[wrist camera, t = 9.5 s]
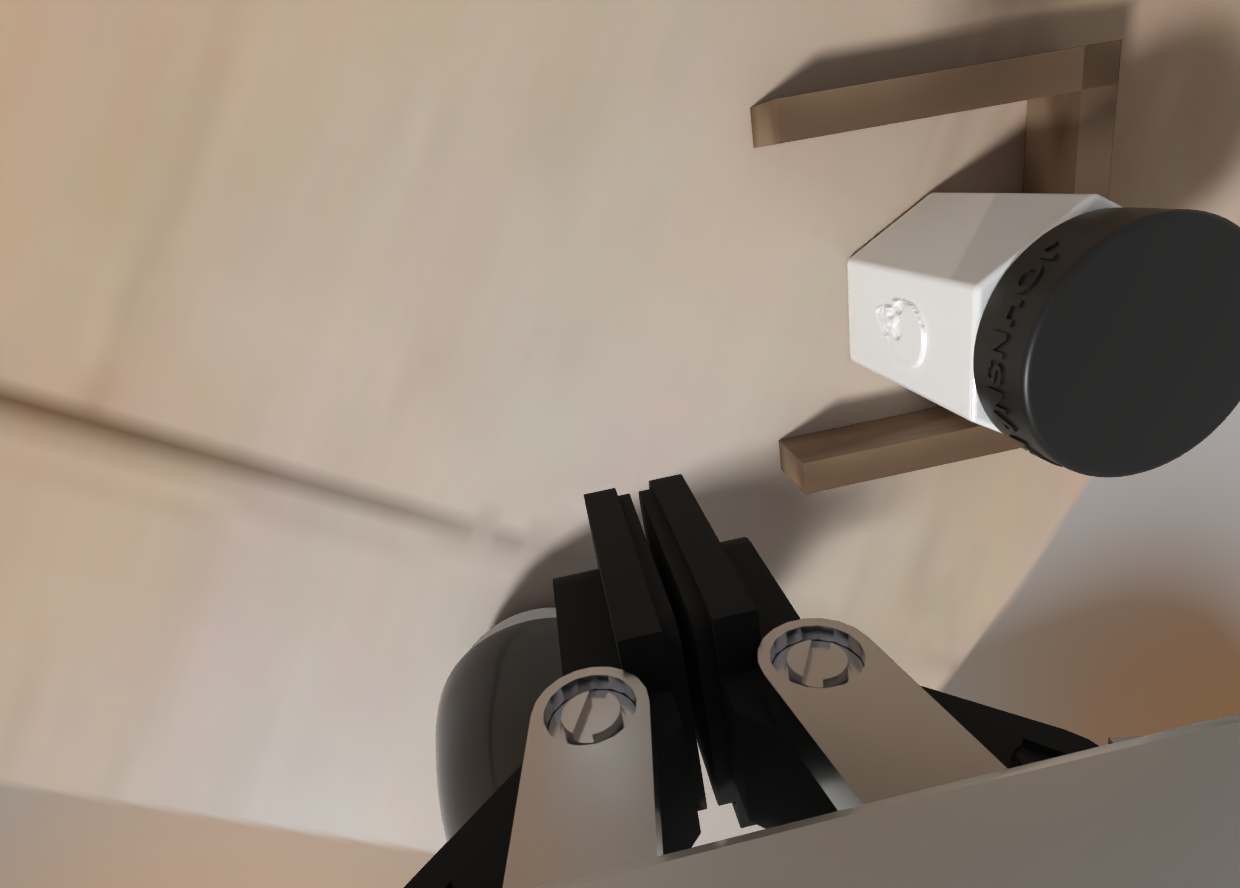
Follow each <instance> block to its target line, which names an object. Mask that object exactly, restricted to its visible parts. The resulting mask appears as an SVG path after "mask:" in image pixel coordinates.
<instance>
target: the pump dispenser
mask: <svg viewBox="0 0 1240 888" xmlns="http://www.w3.org/2000/svg"><path fill="white" fill-rule="evenodd" d="M561 677H563V676H562V666H561V656H560V646H559V636H558V627H557V617H556V608H539V609H533V610H529V611H525V612H522V613H519V614H516V615H514V616H512V617H509V618H507V619H505V620H504V621H502V622H500V623H499V624H497V625H496V626H494V627H493V628H491V629H490V630H489V631H487V632H486V633H485V634H484V635H483V636H482V637H481V638H480V639H479V640H478V641H477V642H476V643H475V644H474V645H473V646H472V648H471V649H470V650H469V651H468V652H467V653H466V654H465V655H464V657H463V658H462V659H461V660H460V661H459V662H458V664H457V665H456V666H455V668H454V669H453V670H452V672H451V674H450V675H449V677H448V679H447V681H446V683H445V686H444V688H443V691H442V694H441V698H440V702H439V707H438V713H437V722H436V771H437V785H438V795H439V803H440V810H441V816H442V821H443V826H444V831H445V835H446V840H447V842H448V841H449V840H450V839H451V838H452V837H453V835H454V834H455V833H456V832H457V831H458V830H459V829H460V828H461V827H462V826H463V825H464V824H465V823H466V822H467V821H468V820H469V819H470V818H471V817H472V816H473V815H474V814H475V813H476V811H477V810H478V809H479V808H480V807H481V806H482V805H483V804H484V803H485V802H486V801H487V800H488V799H489V798H490V797H491V796H492V795H493V794H494V793H495V792H496V791H497V790H498V788H499V787H500V786H501V785H502V784H503V783H504V782H505V781H506V780H507V779H508V778H509V777H510V776H511V775H512V774H513V773H514V772H515V771H516V770H517V769H518V768H519V767H520V765H521V764H522V763H523V760H524V754H525V748H526V741H527V735H528V729H529V723H530V717H531V713H532V711H533V708H534V705H535V702H536V701H537V699H538V698H539V697H540V695H541V694H542V693H543V692H544V690H545V689H546V688H547V687H549V686H550V685H551V684H553V683H554V682H555V681H556V680H558V679H559V678H561Z"/></svg>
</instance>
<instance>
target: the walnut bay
mask: <svg viewBox="0 0 1240 888" xmlns="http://www.w3.org/2000/svg"><path fill="white" fill-rule="evenodd" d="M1121 43H1122V40H1116V41H1110V42H1104V43H1099V44H1093V45H1087V46H1081V47H1075V48H1069V49H1064V50H1058V51H1052V52H1046V53H1040V54H1034V55H1028V56H1023V57H1017V58H1011V59H1005V60H999V61H993V62H988V63H982V64H976V65H970V66H964V67H958V68H953V69H947V70H941V71H935V72H929V73H923V74H918V75H912V76H906V77H900V78H894V79H888V80H883V81H877V82H871V83H865V84H859V85H853V86H847V87H842V88H836V89H830V90H824V91H818V92H812V93H807V94H801V95H795V96H789V97H783V98H777V99H774V100H771V101H768V102H765V103H762V104H760V105H757V106H754V107H751V108H750V110H751V122H752V134H753V145H754V148H756V147H761V146H767V145H773V144H779V143H784V142H790V141H796V140H801V139H807V138H813V137H818V136H824V135H830V134H835V133H841V132H847V131H852V130H858V129H864V128H869V127H875V126H881V125H886V124H892V123H898V122H904V121H909V120H915V119H921V118H926V117H932V116H938V115H943V114H949V113H955V112H960V111H966V110H972V109H977V108H983V107H989V106H994V105H1000V104H1006V103H1011V102H1017V101H1023V100H1028V104H1027V126H1026V148H1025V170H1024V192H1023V193H1062V194H1098V195H1101V196H1102V197H1104V198H1106V199H1108V191H1109V180H1110V169H1111V157H1112V146H1113V134H1114V123H1115V112H1116V100H1117V89H1118V77H1119V66H1120V55H1121ZM779 447H780V459H781V469H782V470H783V471H784V472H785V473H786V474H787V475H788V476H789V477H790V479H791V480H792V481H793V482H794V483H795V484H796V485H797V486H798V487H799V488H800V489H801V490H802V491H803V492H804V493H805V494H809V493H813V492H818V491H822V490H827V489H832V488H836V487H841V486H846V485H850V484H855V483H860V482H864V481H869V480H873V479H878V478H883V477H887V476H892V475H897V474H901V473H906V472H911V471H915V470H920V469H924V468H929V467H934V466H938V465H943V464H948V463H952V462H957V461H962V460H966V459H971V458H975V457H980V456H985V455H989V454H994V453H999V452H1003V451H1008V450H1013V449H1017V448H1022V446H1021V445H1020V444H1018V443H1016V442H1014V441H1012V440H1011V439H1009V438H1008V437H1006V436H1005V435H1004V434H1002V433H1000V432H997V431H994V430H992V429H989V428H987V427H984V426H981V425H979V424H976V423H974V422H971V421H969V420H967V419H965V418H963V417H961V416H959V415H957V414H955V413H953V412H952V411H950V410H948V409H946V408H944V407H942V406H941V407H936V408H931V409H927V410H922V411H917V412H912V413H908V414H903V415H898V416H893V417H888V418H884V419H879V420H874V421H869V422H864V423H860V424H855V425H850V426H845V427H841V428H836V429H831V430H826V431H821V432H817V433H812V434H807V435H802V436H797V437H793V438H788V439H783V440H779Z"/></svg>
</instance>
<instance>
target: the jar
mask: <svg viewBox="0 0 1240 888" xmlns="http://www.w3.org/2000/svg"><path fill="white" fill-rule="evenodd" d="M847 273H848V307H849V340H850V358H851V360H852V361H854V362H855V363H857V364H859V365H861V366H863V367H865V368H867V369H869V370H871V371H873V372H875V373H877V374H879V375H881V376H883V377H885V378H887V379H889V380H891V381H893V382H895V383H897V384H899V385H901V386H903V387H904V388H906V389H908V390H910V391H912V392H914V393H916V394H918V395H920V396H922V397H924V398H926V399H928V400H930V401H932V402H934V403H936V404H938V405H940V406H942V407H944V408H946V409H948V410H950V411H952V412H953V413H955V414H957V415H959V416H961V417H963V418H965V419H967V420H969V421H971V422H974V423H976V424H979V425H981V426H984V427H987V428H989V429H992V430H994V431H997V432H1000V433H1002V434H1004V435H1005V436H1006V437H1008V438H1009V439H1011V440H1012V441H1014V442H1016V443H1018V444H1020V445H1021V446H1022V448H1023V449H1025V450H1026V451H1027V450H1029V452H1030V453H1032V454H1034V455H1036V456H1038V457H1040V458H1042V459H1044V460H1046V461H1048V462H1050V463H1052V464H1054V465H1057V466H1060V467H1062V466H1063V467H1065V468H1067V469H1069V470H1072V471H1074V472H1077V473H1081V474H1085V475H1089V476H1096V477H1122V476H1128V475H1133V474H1137V473H1141V472H1145V471H1148V470H1151V469H1154V468H1157V467H1159V466H1162V465H1164V464H1166V463H1168V462H1170V461H1172V460H1174V459H1176V458H1178V457H1180V456H1181V455H1183V454H1184V453H1186V452H1188V451H1189V450H1191V449H1192V448H1193V447H1195V446H1196V445H1197V444H1199V443H1200V442H1201V441H1203V440H1204V439H1205V438H1206V437H1207V436H1208V435H1210V434H1211V433H1212V432H1213V431H1214V430H1215V429H1216V428H1217V427H1218V426H1219V425H1220V424H1221V423H1222V422H1223V421H1224V420H1225V419H1226V417H1227V416H1228V415H1229V414H1230V413H1231V412H1232V411H1233V409H1234V408H1235V407H1236V405H1237V404H1238V403H1239V401H1240V227H1239V226H1237V225H1236V224H1235V223H1233V222H1231V221H1229V220H1228V219H1226V218H1223V217H1221V216H1218V215H1216V214H1212V213H1209V212H1205V211H1199V210H1189V209H1159V208H1126V207H1122V206H1120V205H1118V204H1116V203H1114V202H1112V201H1110V200H1108V199H1106V198H1104V197H1102V196H1101V195H1098V194H1062V193H941V192H933V193H930V194H929V195H927V196H926V197H925V198H924V199H922V200H921V201H920V202H919V203H918V204H916V205H915V206H914V207H913V208H911V209H910V210H909V211H908V212H906V213H905V214H904V215H903V216H901V217H900V218H899V219H898V220H896V221H895V222H894V223H893V224H891V225H890V226H889V227H888V228H887V229H885V230H884V231H883V232H882V233H880V234H879V235H878V236H877V237H875V238H874V239H873V240H872V241H870V242H869V243H868V244H867V245H865V246H864V247H863V248H862V249H860V250H859V251H858V252H857V253H856V254H854V255H853V256H852V257H851V258H850V259H849V260H848V262H847Z"/></svg>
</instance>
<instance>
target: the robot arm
mask: <svg viewBox="0 0 1240 888" xmlns="http://www.w3.org/2000/svg"><path fill="white" fill-rule="evenodd" d="M584 499H585V504H586V509H587V514H588V519H589V524H590V529H591V534H592V539H593V544H594V549H595V553H596V558H597V563H598V568H599V569H596V570H591V571H587V572H582V573H578V574H573V575H569V576H564V577H559V578H555V579H553V587H554V597H555V607H556V617H557V627H558V636H559V646H560V656H561V666H562V676H563V677H561V678H559V679H558V680H556V681H555V682H554V683H553V684H551V685H550V686H549V687H547V688H546V689H545V690H544V692H543V693H542V694H541V695H540V697H539V698H538V699H537V701H536V702H535V705H534V708H533V711H532V713H531V717H530V723H529V729H528V735H527V741H526V748H525V754H524V760H523V763H522V764H521V765H520V767H519V768H518V769H517V770H516V771H515V772H514V773H513V774H512V775H511V776H510V777H509V778H508V779H507V780H506V781H505V782H504V783H503V784H502V785H501V786H500V787H499V788H498V790H497V791H496V792H495V793H494V794H493V795H492V796H491V797H490V798H489V799H488V800H487V801H486V802H485V803H484V804H483V805H482V806H481V807H480V808H479V809H478V810H477V811H476V813H475V814H474V815H473V816H472V817H471V818H470V819H469V820H468V821H467V822H466V823H465V824H464V825H463V826H462V827H461V828H460V829H459V830H458V831H457V832H456V833H455V834H454V835H453V837H452V838H451V839H450V840H449V841H448V842H447V843H446V844H445V845H444V846H443V847H442V848H441V849H440V850H439V851H438V852H437V853H436V854H435V855H434V856H433V858H431V860H430V861H429V862H428V863H427V864H426V865H425V866H424V867H423V868H422V869H421V870H420V871H419V872H418V873H417V874H416V875H415V876H414V877H413V878H412V879H411V881H410V882H409V883H408V884H407V885H406V886H405V887H404V888H1240V715H1236V716H1231V717H1226V718H1221V719H1216V720H1212V721H1206V722H1201V723H1197V724H1193V725H1189V726H1185V727H1181V728H1176V729H1172V730H1168V731H1164V732H1160V733H1156V734H1151V735H1147V736H1131V737H1109V741H1108V745H1104V746H1098V745H1097V744H1095V743H1094V742H1092V741H1090V740H1089V739H1086V738H1084V737H1082V736H1079V735H1076V734H1074V733H1072V732H1069V731H1066V730H1064V729H1061V728H1057V727H1054V726H1051V725H1048V724H1044V723H1041V722H1038V721H1035V720H1031V719H1028V718H1024V717H1021V716H1018V715H1015V714H1011V713H1008V712H1005V711H1002V710H998V709H995V708H992V707H988V706H985V705H982V704H978V703H975V702H972V701H969V700H965V699H962V698H959V697H955V696H952V695H949V694H946V693H942V692H939V691H936V690H933V689H929V688H926V687H923V686H920V685H919V684H918V683H916V682H915V681H914V680H913V679H912V678H911V677H910V676H909V675H908V674H907V673H906V672H905V671H904V670H903V669H902V668H901V667H900V666H898V665H897V664H896V663H895V662H894V661H893V660H892V659H891V658H890V657H889V656H888V655H887V654H886V653H885V652H884V651H883V650H881V649H880V648H879V647H878V646H877V645H876V644H875V643H874V642H873V641H872V640H871V639H870V638H869V637H868V636H866V635H865V634H863V633H862V632H861V631H859V630H858V629H856V628H855V627H852V626H850V625H847V624H845V623H842V622H840V621H835V620H829V619H823V618H808V619H800V617H799V616H798V614H797V613H796V611H795V610H794V608H793V607H792V605H791V604H790V602H789V600H788V599H787V597H786V596H785V594H784V593H783V591H782V590H781V588H780V587H779V585H778V584H777V582H776V580H775V579H774V577H773V576H772V574H771V573H770V571H769V570H768V568H767V567H766V565H765V563H764V562H763V560H762V559H761V557H760V556H759V554H758V553H757V551H756V550H755V548H754V546H753V545H752V543H751V542H750V541H749V540H748V538H746V537H742V538H738V539H733V540H728V541H724V542H719V540H718V538H717V536H716V534H715V533H714V531H713V529H712V527H711V526H710V524H709V522H708V520H707V519H706V517H705V515H704V513H703V511H702V510H701V508H700V506H699V504H698V503H697V501H696V499H695V497H694V496H693V494H692V492H691V490H690V488H689V487H688V485H687V483H686V481H685V480H684V478H683V476H682V475H681V474H679V475H674V476H670V477H665V478H660V479H655V480H651V481H649V490H644V491H639V499H640V505H641V511H642V517H643V523H644V529H645V535H646V537H645V535H644V532H643V529H642V527H641V524H640V521H639V518H638V516H637V513H636V510H635V508H634V505H633V502H632V499H631V497H630V494H625V495H620V496H618V495H617V492H616V489H615V488H613V489H608V490H603V491H598V492H594V493H589V494H584ZM696 739H697V740H696ZM697 743H698V746H699V749H700V752H701V755H702V758H703V761H704V764H705V767H706V770H707V773H708V776H709V779H710V782H711V785H712V789H713V792H714V795H715V798H716V800H717V803H718V805H719V806H720V805H724V804H728V803H732V804H733V807H734V810H735V813H736V816H737V819H738V821H739V824H740V827H741V828H744V827H748V826H752V825H756V824H757V825H759V826H761V827H763V828H765V829H764V830H760V831H756V832H752V833H749V834H745V835H741V836H737V837H733V838H729V839H725V840H721V841H717V842H713V843H709V844H705V845H701V846H697V847H693V848H691V847H692V846H693V844H694V843H695V841H696V839H697V838H698V836H699V835H700V833H701V830H700V824H699V818H698V812H697V811H700V810H704V809H707V804H706V797H705V791H704V784H703V778H702V772H701V765H700V759H699V752H698V746H697Z"/></svg>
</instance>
